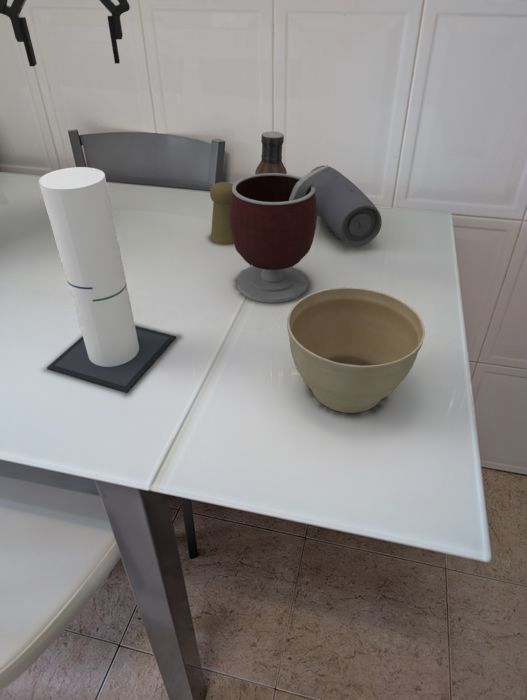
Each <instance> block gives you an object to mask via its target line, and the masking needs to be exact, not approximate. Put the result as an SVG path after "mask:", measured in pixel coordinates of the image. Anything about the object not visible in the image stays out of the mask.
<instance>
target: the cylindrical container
mask: <svg viewBox="0 0 527 700" xmlns="http://www.w3.org/2000/svg"><path fill="white" fill-rule="evenodd" d="M107 183H108V182H107V178H106V174H105V172H104V171H103V170H101V169H98V168H95V167H88V166H87V167H86V166H74V167H65V168H61V169H57V170H53V171H50V172H48V173H45V174H43V175H42V176H41V177H39V179H38V184H39V187H40V192H41V194H42V199H43V202H44V205H45V209H46V212H47V215H48V219H49V222H50V227H51V229H52V234H53V237H54V240H55V244H56V247H57V251H58V255H59V258H60V261H61V265H62V268H63V272H64V275H65V279H66V283H67V286H68V290H69V294H70V297H71V300H72V303H73V307H74V310H75V314H76V318H77V320H78V324H79V328H80V332H81V335H82V336H83V339H84V342H85V346H86V350H87V353H88V357H89V359H90V361H91V362H93V363H94V364H96V365H99V366H104V367H112V366H118V365H122V364H124V363H127V362H128V361H130V360H132V359H133V358H134V357H135V356H136V355H137V353H138V351H139V344H138V338H137V333H136V328H135V326H136V324H135V318H134V315H133V308H132V304H131V299H130V294H129V289H128V285H127V279H126V273H125V269H124V264H123V259H122V254H121V249H120V243H119V238H118V233H117V228H116V223H115V219H114V213H113V208H112V203H111V199H110V193H109V189H108V188H109V187H108V184H107Z"/></svg>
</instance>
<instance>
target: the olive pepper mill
mask: <svg viewBox="0 0 527 700" xmlns="http://www.w3.org/2000/svg"><path fill="white" fill-rule="evenodd" d="M233 184H234V183H231V182H228V181H220V182H215V183H214V184H212V186H211V187H210V190H209V196H210V199H211V201H212V216H211V217H212V218H211V229H210V231H211V233H210V240H211V241H212V242H213V243H215V244H218V245H219V244H220V245H231V244H234V242H233V239H232V234H231V229H230V201H231V195H232V186H233Z"/></svg>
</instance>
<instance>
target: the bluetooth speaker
mask: <svg viewBox="0 0 527 700" xmlns="http://www.w3.org/2000/svg"><path fill="white" fill-rule="evenodd" d="M324 166H325V165H319V166H316V167H315V168H313V169H312V170H311V171H310V172H312V171H314V170H317V169H319V168H321V167H324ZM328 167H329V171H326V172H324V173H322V174H321V175H319V176H318V177H317V178H316V179H315V180H314V181H313V183H312V184H313V185H314V186H315V196H316V205H317V216H318V217H319V218H320V219H321V221H322V222H323V223H324V224H325V225H326V226H327V227H328V228H329V229H330V230H331V231H332V233H333V234H334V235H335V236H336V237H338V238H339V239H340V240H342V241H343V242H344V243H346V244H347V245H349V246H351V247H360V246H365V245H367V244H370V243H371V242H372V241H374V239H375V238H377V236H378V235H379V233H380V232H381V229H382V225H383V221H382V216H381V212H380V211H379V210H378V208H377V207H376V205H375V204H374V203H373V202H372V201H371V199H370V198H369V197H368V196H367V195H366V194H365V193H364V192H363V191H362V190H361V188H359V187H358V186H357V185H356V184H354V182H352V181H351V180H350V179H348V177H346V176H345V175H343V173H342V172H339V170H337V169H335V168H334V167H331V166H329V165H328Z"/></svg>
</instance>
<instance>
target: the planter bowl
mask: <svg viewBox="0 0 527 700" xmlns="http://www.w3.org/2000/svg"><path fill="white" fill-rule="evenodd" d="M286 328H287V333H288V337H289V338H288V339H289V348H290V353H291V357H292V360H293V364H294V366H295V367H296V370H297V371H298V373H299V376H300V377H301V378H302V380H303V381H304V383H305V384H306V385H307V387H308V388H309V389H310V390H311V392H312V395H313V396H314V398H315V399H316V400H317V401H318V402H319V403H320V404H321V405H323V406H324V407H327V408H328V409H331V410H332V411H336V412H340V413H346V414H355V413H356V414H357V413H362V412H366V411H369V410H371V409H373V408H374V407H376V406H377V405H378V404H379V403H380V402H381V401H382V399H384V398H385V397H387V396H389V395H390V394H391V393H392V392H393V391H395V390H396V389H397V388H398V387H399V386H400V385H401V384H402V382H403V381H404V380H405V379H406V378H407V376H408V375H409V373H410V371H411V370H412V368H413V367H414V364H415V362H416V359H417V357H418V354H419V352H420V350H421V348H422V346H423V343H424V340H425V335H426V329H425V324H424V322H423V320H422V318H421V316H420V315H419V313H418V312H417V311H416V310H414V308H413V307H412V306H410V305H409V304H407V303H406V302H405V301H403V300H401V299H400V298H397V297H395V296H394V295H391V294H388V293H385V292H382V291H379V290H374V289H370V288H363V287H352V286H351V287H350V286H349V287H348V286H347V287H346V286H343V287H342V286H341V287H329V288H325V289H321V290H317V291H314V292H311V293H309V294H307V295H306V296H304V297H302V298H300V299H299V300H298V301H297V302H296V303H294V305H293V306H292V307H291V308H290V311H289V313H288V315H287V319H286Z"/></svg>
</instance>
